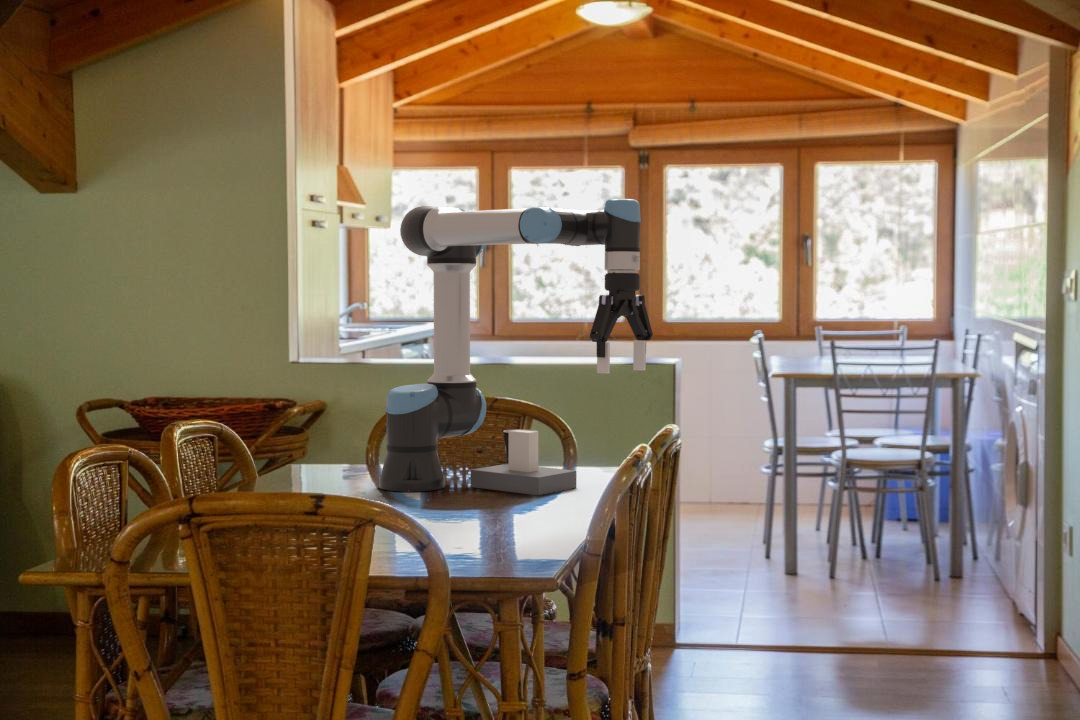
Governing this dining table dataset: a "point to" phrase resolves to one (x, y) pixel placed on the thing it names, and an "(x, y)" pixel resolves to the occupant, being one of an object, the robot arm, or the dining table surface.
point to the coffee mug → (506, 441)
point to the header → (523, 480)
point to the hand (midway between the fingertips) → (621, 371)
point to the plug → (523, 450)
